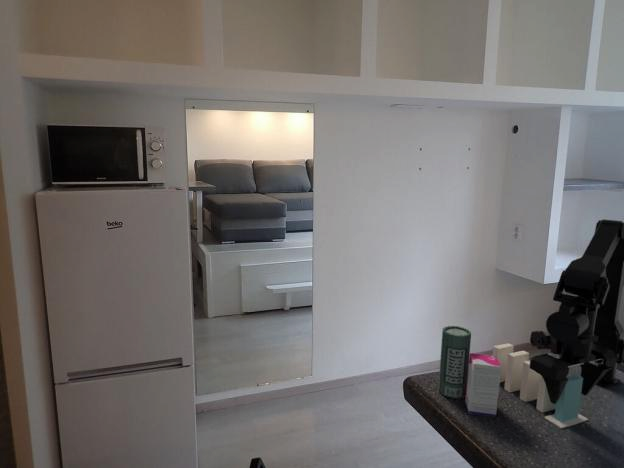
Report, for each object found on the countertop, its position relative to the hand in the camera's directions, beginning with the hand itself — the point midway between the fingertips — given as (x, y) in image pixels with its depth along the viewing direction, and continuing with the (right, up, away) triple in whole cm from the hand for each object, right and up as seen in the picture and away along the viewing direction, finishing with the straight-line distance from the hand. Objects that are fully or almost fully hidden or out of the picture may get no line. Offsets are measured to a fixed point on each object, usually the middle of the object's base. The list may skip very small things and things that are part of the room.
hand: (568, 398), depth 94 cm
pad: (0, -5, +1) cm, 5 cm away
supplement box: (-17, -4, +4) cm, 18 cm away
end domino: (0, -4, +1) cm, 4 cm away
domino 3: (-4, -3, +9) cm, 10 cm away
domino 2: (-5, -2, +13) cm, 14 cm away
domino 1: (-7, -2, +17) cm, 19 cm away
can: (-21, -3, +11) cm, 24 cm away
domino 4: (-2, -4, +5) cm, 7 cm away
